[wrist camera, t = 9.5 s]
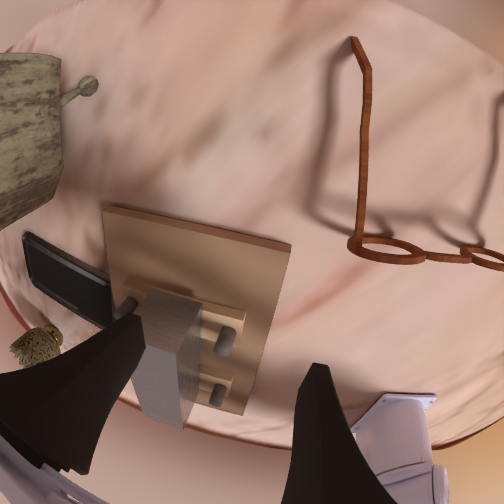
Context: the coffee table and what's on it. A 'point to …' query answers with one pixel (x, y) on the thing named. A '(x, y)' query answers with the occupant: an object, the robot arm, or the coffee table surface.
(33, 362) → the cup
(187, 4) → the coffee table surface
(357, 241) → the glasses
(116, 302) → the peg rack
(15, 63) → the tabletop clock
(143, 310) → the metal bar
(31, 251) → the phone
